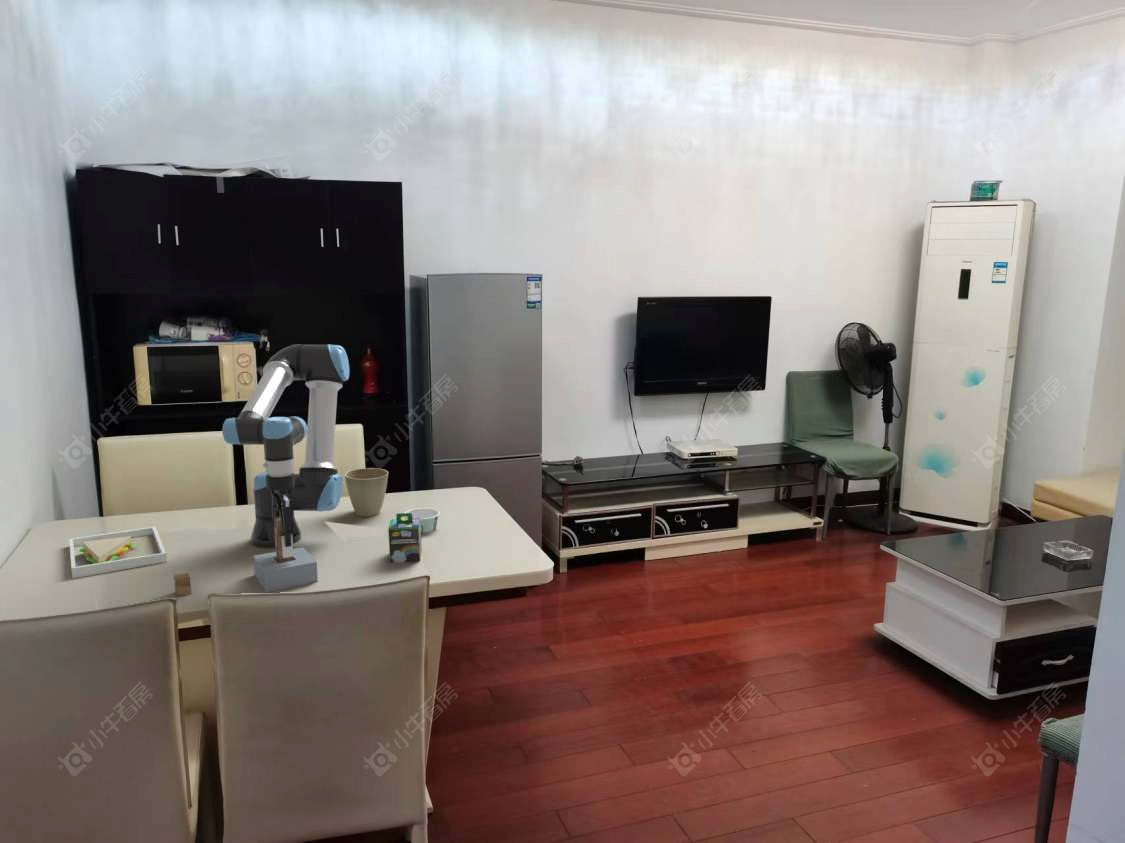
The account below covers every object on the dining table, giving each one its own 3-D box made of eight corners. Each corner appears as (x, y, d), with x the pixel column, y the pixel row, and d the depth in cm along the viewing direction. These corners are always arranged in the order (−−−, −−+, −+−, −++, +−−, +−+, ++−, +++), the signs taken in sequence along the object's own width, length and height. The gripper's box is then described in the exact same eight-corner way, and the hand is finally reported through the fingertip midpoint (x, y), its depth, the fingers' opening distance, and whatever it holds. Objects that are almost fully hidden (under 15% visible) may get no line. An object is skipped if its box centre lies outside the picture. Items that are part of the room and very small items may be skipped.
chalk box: (421, 553, 246) (420, 507, 244) (420, 563, 237) (419, 516, 235) (391, 554, 245) (390, 508, 242) (389, 564, 236) (387, 517, 233)
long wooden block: (277, 578, 225) (274, 517, 222) (290, 575, 227) (287, 515, 223) (281, 582, 222) (277, 520, 219) (293, 579, 224) (290, 518, 221)
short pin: (175, 592, 214) (173, 574, 214) (189, 589, 216) (188, 572, 215) (177, 596, 212) (175, 579, 211) (191, 594, 213) (189, 576, 212)
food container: (443, 527, 271) (443, 508, 270) (434, 538, 260) (434, 519, 258) (409, 525, 273) (409, 507, 271) (399, 537, 261) (398, 518, 260)
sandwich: (59, 576, 225) (57, 560, 224) (86, 552, 244) (84, 537, 243) (117, 573, 228) (116, 556, 227) (140, 550, 247) (138, 534, 246)
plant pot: (338, 520, 277) (336, 476, 274) (360, 508, 291) (359, 466, 288) (376, 525, 272) (374, 480, 269) (397, 512, 286) (396, 470, 283)
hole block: (254, 575, 226) (253, 555, 225) (304, 566, 234) (303, 547, 233) (265, 592, 215) (264, 571, 214) (317, 582, 222) (316, 561, 221)
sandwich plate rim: (70, 548, 247) (69, 538, 246) (156, 535, 259) (155, 526, 259) (72, 578, 223) (71, 568, 222) (167, 562, 235) (166, 553, 235)
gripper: (257, 467, 225) (262, 544, 229) (274, 483, 208) (279, 566, 213) (285, 464, 229) (289, 539, 233) (303, 480, 212) (307, 561, 217)
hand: (284, 552), depth 223 cm, fingers open, 7 cm apart
